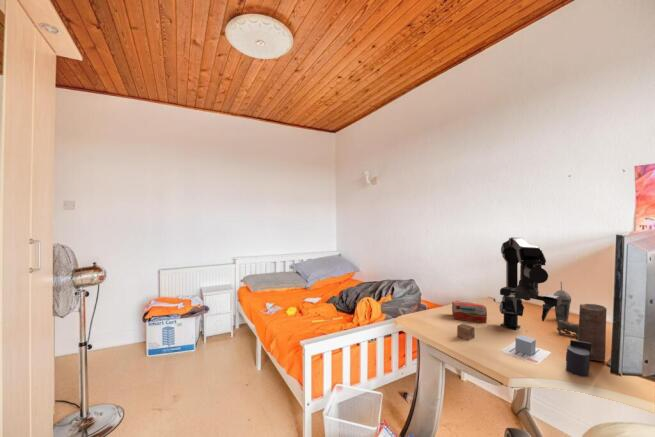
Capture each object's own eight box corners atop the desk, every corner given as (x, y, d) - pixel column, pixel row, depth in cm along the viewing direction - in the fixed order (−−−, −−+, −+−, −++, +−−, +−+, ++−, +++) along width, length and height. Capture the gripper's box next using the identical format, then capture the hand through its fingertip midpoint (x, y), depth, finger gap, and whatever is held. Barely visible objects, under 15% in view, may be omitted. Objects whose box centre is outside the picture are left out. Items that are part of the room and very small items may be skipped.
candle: (611, 365, 95) (612, 309, 95) (588, 363, 97) (588, 307, 97) (594, 354, 103) (594, 302, 103) (572, 353, 104) (573, 301, 104)
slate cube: (520, 347, 107) (520, 334, 107) (535, 352, 103) (535, 339, 103) (515, 350, 104) (515, 338, 104) (530, 356, 100) (530, 342, 100)
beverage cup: (556, 321, 137) (556, 282, 137) (550, 317, 144) (550, 280, 144) (574, 324, 134) (574, 284, 134) (567, 319, 141) (567, 281, 141)
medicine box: (483, 318, 141) (483, 302, 141) (487, 323, 134) (487, 307, 134) (451, 314, 146) (452, 299, 146) (453, 319, 138) (454, 304, 138)
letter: (515, 341, 113) (515, 340, 113) (551, 353, 104) (551, 352, 104) (499, 351, 104) (499, 351, 104) (537, 365, 94) (537, 364, 94)
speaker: (566, 363, 95) (568, 336, 94) (589, 371, 91) (591, 342, 90) (563, 373, 90) (565, 344, 89) (587, 382, 86) (590, 352, 85)
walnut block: (463, 334, 120) (463, 323, 120) (474, 338, 116) (474, 327, 116) (457, 337, 117) (457, 325, 117) (468, 341, 113) (468, 329, 113)
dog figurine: (555, 334, 122) (555, 317, 122) (558, 330, 126) (558, 315, 126) (592, 343, 113) (592, 325, 113) (594, 339, 117) (593, 322, 117)
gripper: (494, 276, 109) (493, 314, 108) (552, 285, 93) (552, 330, 93) (505, 273, 115) (505, 309, 115) (561, 281, 100) (561, 323, 100)
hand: (528, 317), depth 106 cm, fingers open, 9 cm apart
